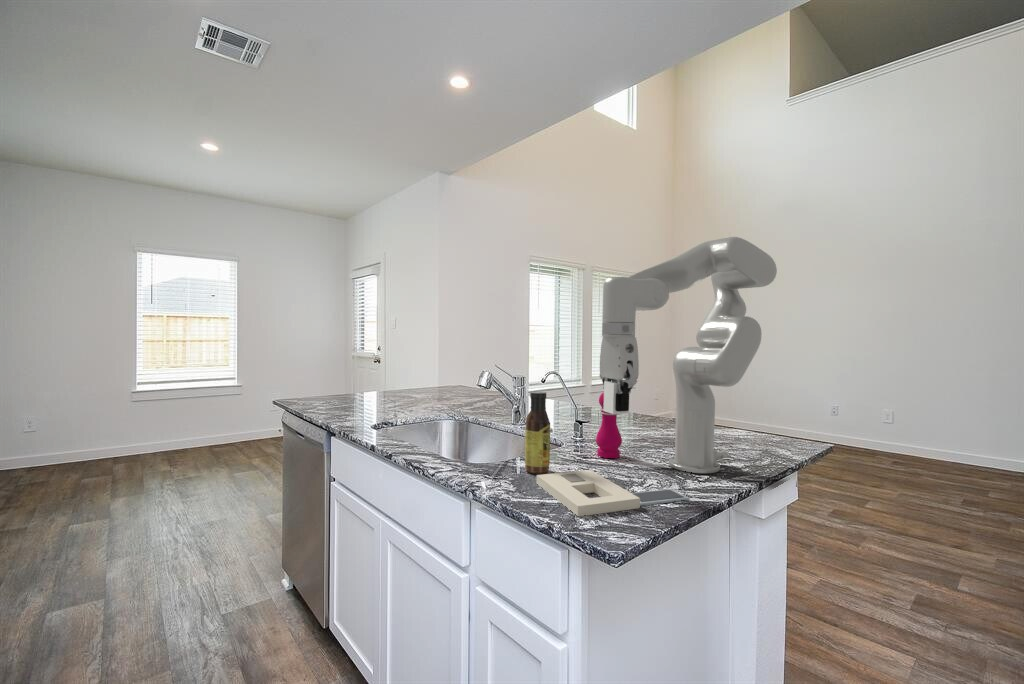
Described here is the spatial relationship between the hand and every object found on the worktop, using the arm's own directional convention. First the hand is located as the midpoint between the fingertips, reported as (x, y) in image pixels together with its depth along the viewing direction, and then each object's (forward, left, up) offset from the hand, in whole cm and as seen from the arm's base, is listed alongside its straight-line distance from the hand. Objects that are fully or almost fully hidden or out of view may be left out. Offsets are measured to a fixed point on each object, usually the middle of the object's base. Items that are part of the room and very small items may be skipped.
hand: (616, 408), depth 109 cm
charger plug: (0, 0, -1) cm, 1 cm away
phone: (-3, +11, -18) cm, 22 cm away
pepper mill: (-11, -21, -18) cm, 29 cm away
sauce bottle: (+14, -14, -18) cm, 26 cm away
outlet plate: (+11, +5, -17) cm, 21 cm away
